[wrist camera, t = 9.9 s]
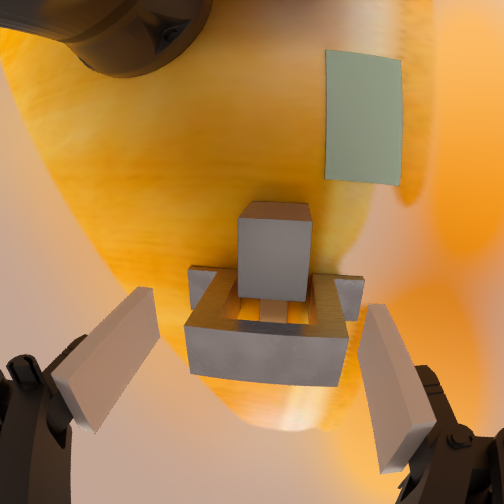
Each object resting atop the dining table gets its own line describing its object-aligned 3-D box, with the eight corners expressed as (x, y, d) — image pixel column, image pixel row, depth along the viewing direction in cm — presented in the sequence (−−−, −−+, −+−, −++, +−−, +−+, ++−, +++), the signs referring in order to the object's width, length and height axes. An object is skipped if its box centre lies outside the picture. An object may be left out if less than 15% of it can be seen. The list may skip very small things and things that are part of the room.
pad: (325, 50, 21) (325, 49, 21) (399, 61, 20) (400, 60, 20) (324, 178, 25) (324, 179, 25) (398, 185, 24) (399, 186, 24)
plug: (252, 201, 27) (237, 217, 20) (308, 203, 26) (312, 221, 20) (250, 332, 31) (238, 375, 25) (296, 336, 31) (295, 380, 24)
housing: (191, 265, 30) (145, 319, 20) (362, 276, 28) (391, 338, 18) (194, 304, 31) (155, 367, 21) (355, 316, 29) (375, 386, 19)
